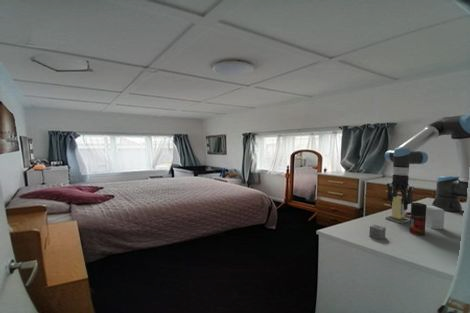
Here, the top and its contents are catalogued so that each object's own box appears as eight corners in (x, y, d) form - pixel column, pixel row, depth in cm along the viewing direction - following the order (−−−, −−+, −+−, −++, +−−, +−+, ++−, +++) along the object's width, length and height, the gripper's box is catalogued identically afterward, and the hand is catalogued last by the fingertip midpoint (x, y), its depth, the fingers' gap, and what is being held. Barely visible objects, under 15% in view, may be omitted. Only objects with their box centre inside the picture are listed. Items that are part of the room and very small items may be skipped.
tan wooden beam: (396, 218, 133) (397, 195, 132) (404, 221, 129) (405, 197, 128) (391, 219, 131) (393, 196, 130) (400, 222, 127) (401, 198, 126)
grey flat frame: (408, 213, 142) (408, 211, 142) (425, 218, 134) (425, 215, 134) (385, 219, 132) (385, 216, 132) (402, 224, 124) (402, 221, 124)
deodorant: (407, 231, 113) (408, 203, 112) (413, 230, 115) (415, 202, 114) (420, 236, 108) (422, 206, 107) (427, 234, 110) (429, 205, 109)
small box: (443, 229, 117) (445, 210, 116) (431, 228, 118) (432, 209, 117) (433, 224, 124) (434, 205, 124) (422, 223, 125) (423, 205, 125)
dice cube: (369, 236, 107) (369, 226, 107) (373, 234, 110) (374, 224, 110) (380, 240, 103) (381, 229, 103) (385, 237, 106) (385, 227, 106)
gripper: (381, 172, 135) (379, 210, 136) (414, 176, 119) (412, 219, 120) (388, 172, 138) (386, 208, 139) (422, 176, 122) (419, 217, 123)
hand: (398, 213), depth 130 cm, fingers open, 4 cm apart
